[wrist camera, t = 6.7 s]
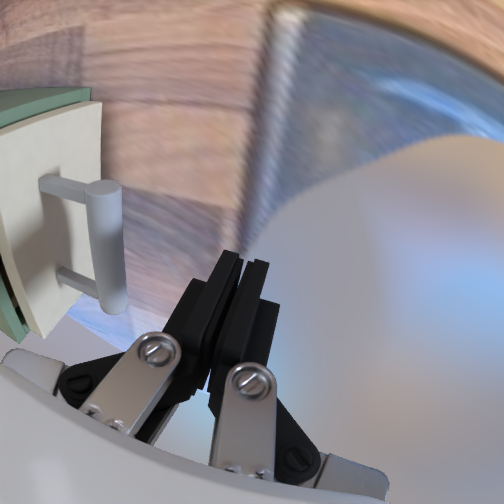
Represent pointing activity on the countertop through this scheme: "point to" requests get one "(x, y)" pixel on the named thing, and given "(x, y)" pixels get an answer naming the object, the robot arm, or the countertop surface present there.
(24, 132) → the drawer
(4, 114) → the cabinet
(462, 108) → the countertop surface
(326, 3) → the countertop surface
